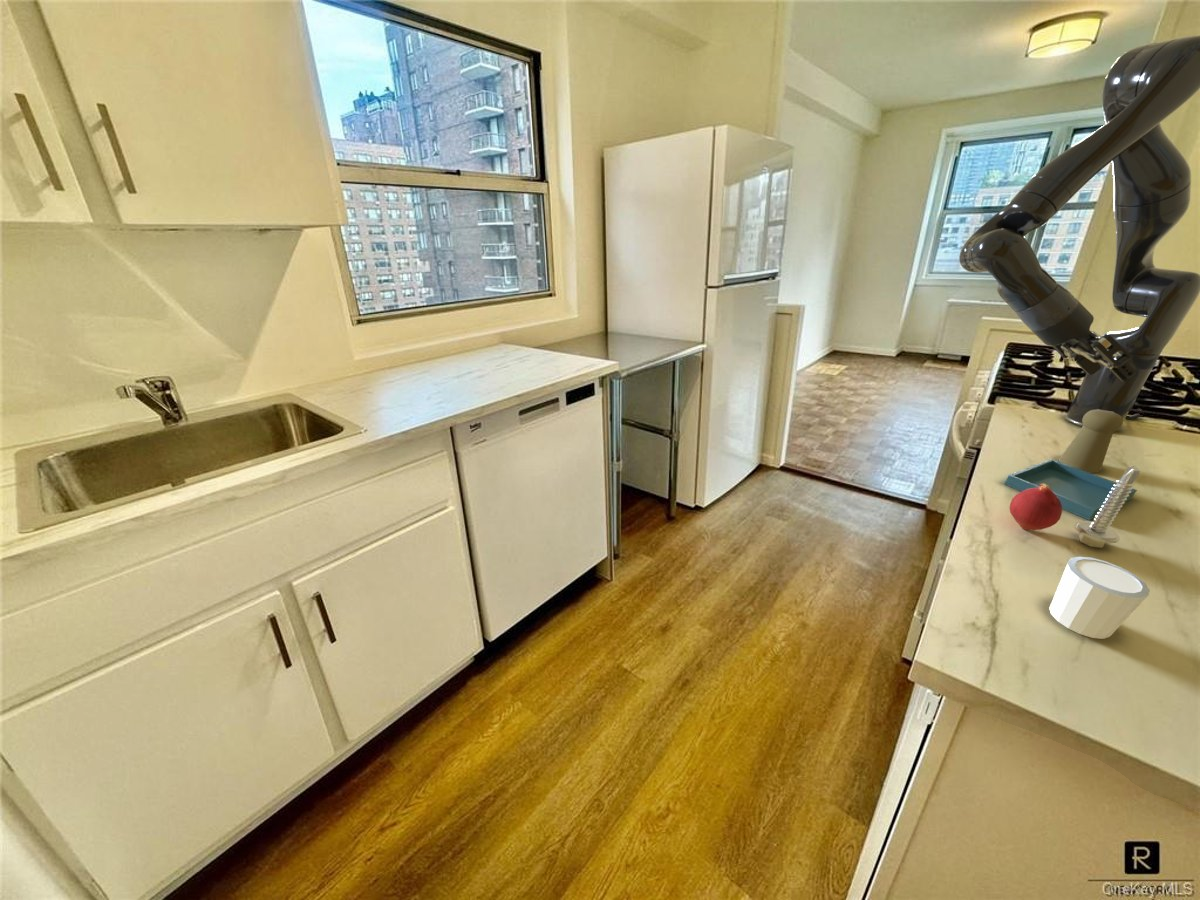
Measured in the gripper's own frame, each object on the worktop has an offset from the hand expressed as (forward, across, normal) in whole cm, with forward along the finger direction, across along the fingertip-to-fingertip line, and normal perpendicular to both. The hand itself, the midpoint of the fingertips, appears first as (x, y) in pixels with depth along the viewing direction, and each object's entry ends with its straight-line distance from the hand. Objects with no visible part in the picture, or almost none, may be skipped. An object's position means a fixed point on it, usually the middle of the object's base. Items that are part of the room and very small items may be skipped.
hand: (1112, 374), depth 89 cm
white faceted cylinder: (-5, -47, +36) cm, 59 cm away
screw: (+2, -30, +26) cm, 40 cm away
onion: (-4, -28, +31) cm, 42 cm away
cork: (+10, -2, +14) cm, 18 cm away
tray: (+4, -14, +21) cm, 26 cm away
